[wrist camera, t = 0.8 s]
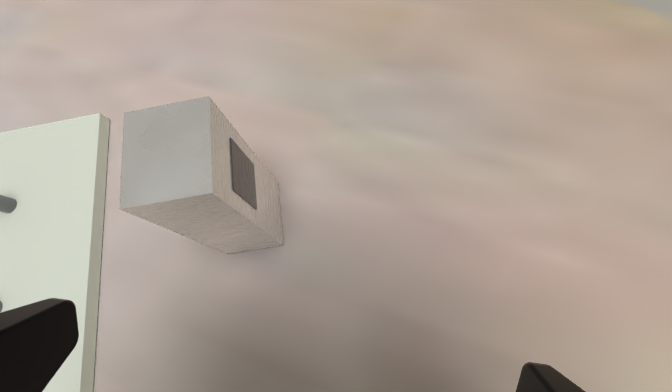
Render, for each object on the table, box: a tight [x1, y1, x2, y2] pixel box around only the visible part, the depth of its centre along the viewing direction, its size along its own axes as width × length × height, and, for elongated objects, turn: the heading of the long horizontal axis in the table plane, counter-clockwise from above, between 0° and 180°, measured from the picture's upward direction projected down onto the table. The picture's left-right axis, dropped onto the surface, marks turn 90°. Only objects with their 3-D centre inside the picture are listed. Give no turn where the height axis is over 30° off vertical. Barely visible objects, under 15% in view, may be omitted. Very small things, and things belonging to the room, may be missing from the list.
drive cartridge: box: [119, 97, 284, 254], centre depth 19 cm, size 4×4×10 cm
